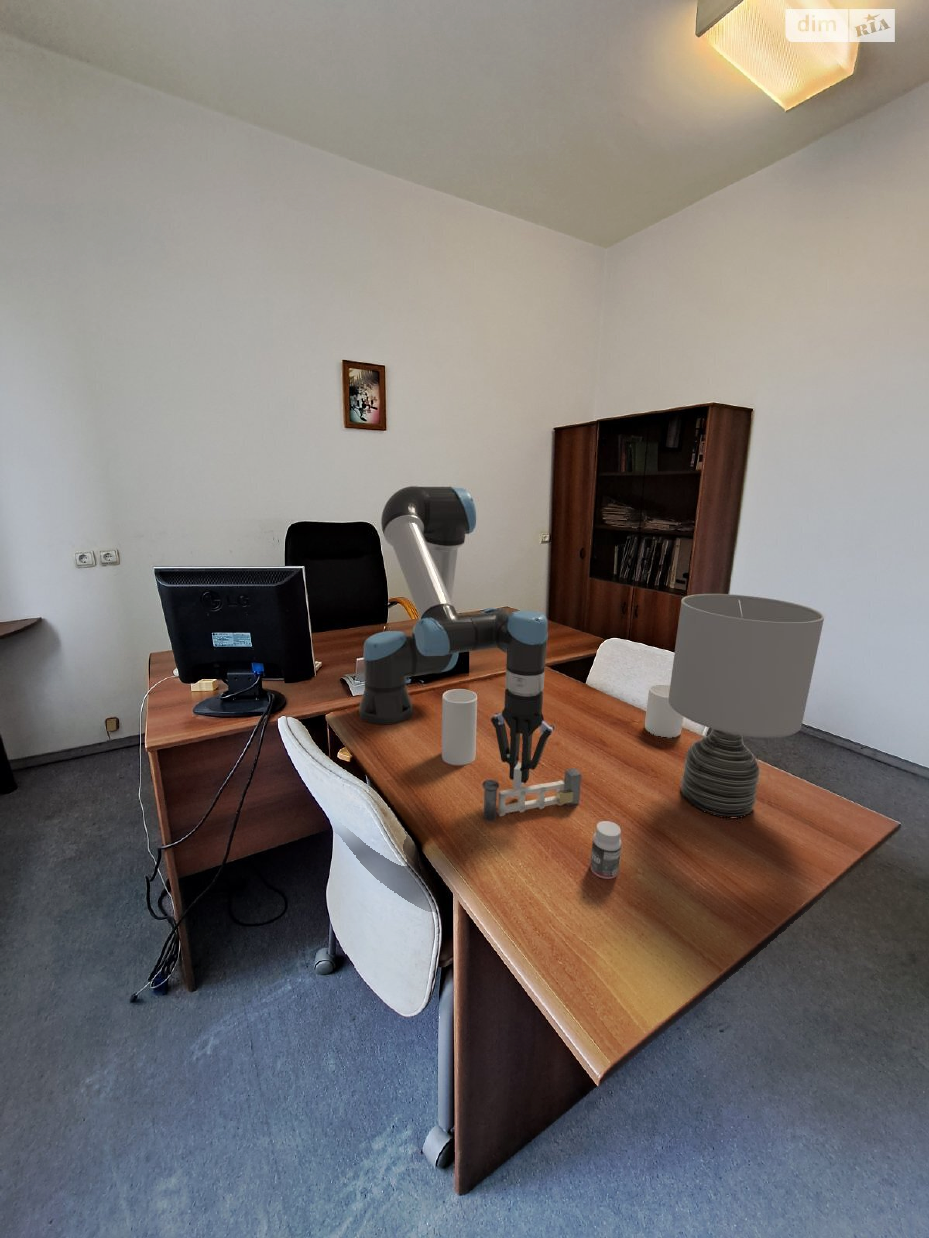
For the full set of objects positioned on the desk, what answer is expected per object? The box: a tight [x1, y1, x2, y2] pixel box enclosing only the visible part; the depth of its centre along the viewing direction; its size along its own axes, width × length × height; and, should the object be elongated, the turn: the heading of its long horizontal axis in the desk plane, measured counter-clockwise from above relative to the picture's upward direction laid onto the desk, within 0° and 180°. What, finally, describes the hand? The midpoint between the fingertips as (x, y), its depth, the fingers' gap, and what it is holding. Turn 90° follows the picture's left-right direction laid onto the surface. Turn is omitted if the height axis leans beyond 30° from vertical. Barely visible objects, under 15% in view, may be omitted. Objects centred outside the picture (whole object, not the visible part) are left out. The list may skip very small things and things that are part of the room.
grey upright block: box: [557, 768, 582, 807], centre depth 104 cm, size 3×5×7 cm, turn 108°
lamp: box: [668, 593, 825, 819], centre depth 102 cm, size 24×24×42 cm
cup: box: [441, 688, 478, 766], centre depth 121 cm, size 8×8×16 cm
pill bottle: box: [589, 820, 622, 880], centre depth 86 cm, size 5×5×8 cm
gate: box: [497, 779, 565, 817], centre depth 102 cm, size 14×1×5 cm, turn 107°
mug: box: [644, 684, 684, 739], centre depth 138 cm, size 10×12×12 cm
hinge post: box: [482, 779, 500, 822], centre depth 99 cm, size 3×3×7 cm
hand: (518, 793), depth 106 cm, fingers closed
